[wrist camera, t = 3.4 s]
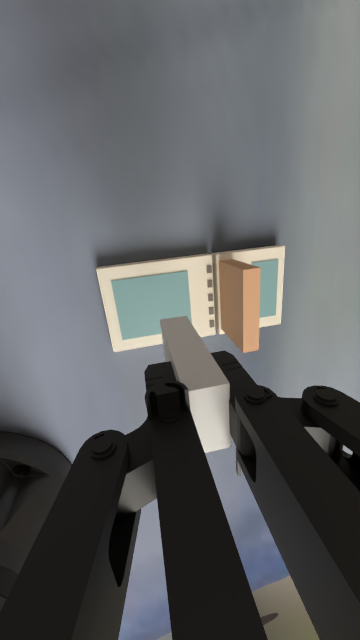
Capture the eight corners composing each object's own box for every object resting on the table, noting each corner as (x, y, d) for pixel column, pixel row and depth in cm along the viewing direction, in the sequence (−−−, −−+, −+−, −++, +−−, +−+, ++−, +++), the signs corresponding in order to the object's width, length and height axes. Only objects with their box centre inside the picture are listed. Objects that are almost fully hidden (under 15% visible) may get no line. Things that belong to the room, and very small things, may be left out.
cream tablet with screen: (114, 345, 23) (113, 352, 21) (97, 266, 20) (95, 269, 19) (211, 329, 24) (215, 334, 23) (207, 253, 21) (212, 255, 20)
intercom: (214, 329, 24) (240, 359, 19) (211, 253, 21) (240, 262, 16) (273, 319, 25) (314, 345, 20) (277, 245, 22) (324, 251, 17)
